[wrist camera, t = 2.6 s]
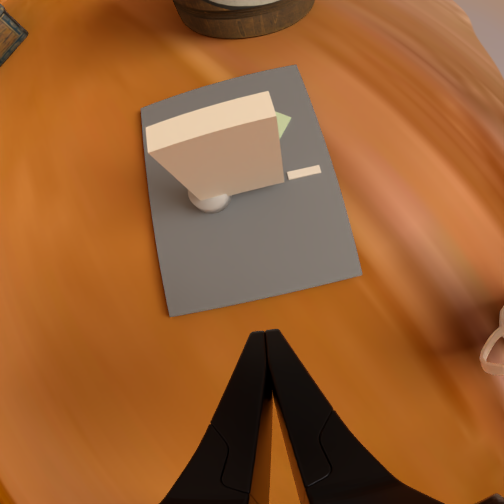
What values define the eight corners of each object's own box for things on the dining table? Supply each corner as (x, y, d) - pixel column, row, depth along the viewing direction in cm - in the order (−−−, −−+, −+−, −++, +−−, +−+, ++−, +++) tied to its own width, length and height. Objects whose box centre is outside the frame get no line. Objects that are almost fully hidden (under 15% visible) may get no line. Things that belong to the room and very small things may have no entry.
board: (360, 275, 22) (362, 274, 21) (172, 316, 23) (169, 317, 22) (296, 68, 24) (296, 63, 23) (143, 111, 25) (140, 107, 25)
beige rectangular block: (287, 195, 22) (280, 129, 12) (198, 218, 23) (133, 172, 13) (277, 160, 23) (264, 79, 13) (191, 182, 23) (129, 121, 13)
